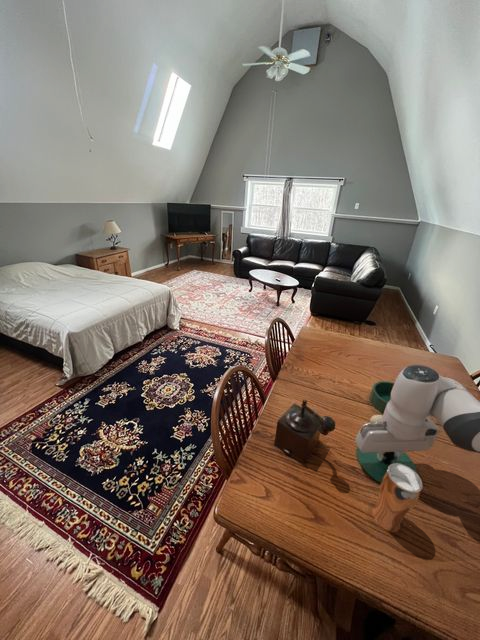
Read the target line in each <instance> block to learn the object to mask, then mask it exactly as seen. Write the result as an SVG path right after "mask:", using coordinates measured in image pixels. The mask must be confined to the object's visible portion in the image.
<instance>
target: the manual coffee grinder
mask: <svg viewBox="0 0 480 640" xmlns="http://www.w3.org/2000/svg"><path fill="white" fill-rule="evenodd" d="M307 404H308V400H307V399H302V403H301V404H300V405H301V406H300V405H299V404H297V403H293V404H292V405H291V406H290V407H289V408H288V409H287V410H286V411H285V412H284V413H283V414H282V415H281V416H280V418H279V419H277V422H276V430H275V435H274V442H273V445H274V446H276V447H277V448H278V449H280V450H281V451H283V452H284V453H285V454H286V455H288V456H290V457H292V458H294V459H295V460H296V461H299V462H301V463H303V464H305V463H306V462H307V461H308V460H309V458H310V457H311V455H312V454H313V453H314V451H315V449H316V448H317V446H318V444H319V441H320V437H321V435H323V436H325V437H326V436H328V435H329V433H331V432H333V431H335V429H336V421H335V419H333V417H331V416H329V415H325V416H323V417H322V416H321V415H319V414H318V413H317V412H315V411H314V410H313V409H312V408H310V407H309V406H308V405H307Z"/></svg>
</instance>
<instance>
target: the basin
mask: <svg viewBox="0 0 480 640" xmlns="http://www.w3.org/2000/svg"><path fill="white" fill-rule="evenodd" d="M394 383H395V382H392V381H387V380H386V381H385V380H383V381H377V382H375V383H374V384H373V385H372V388H371V390H370V394H369V403H370V405H371V406H372V407H373V408H374V409H375V410H376V411H378V413H381V415H383V414H384V411H385V408H386V405H387V403H388V402H389V401H390V399H391V391H392V388H393V386H394Z"/></svg>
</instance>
